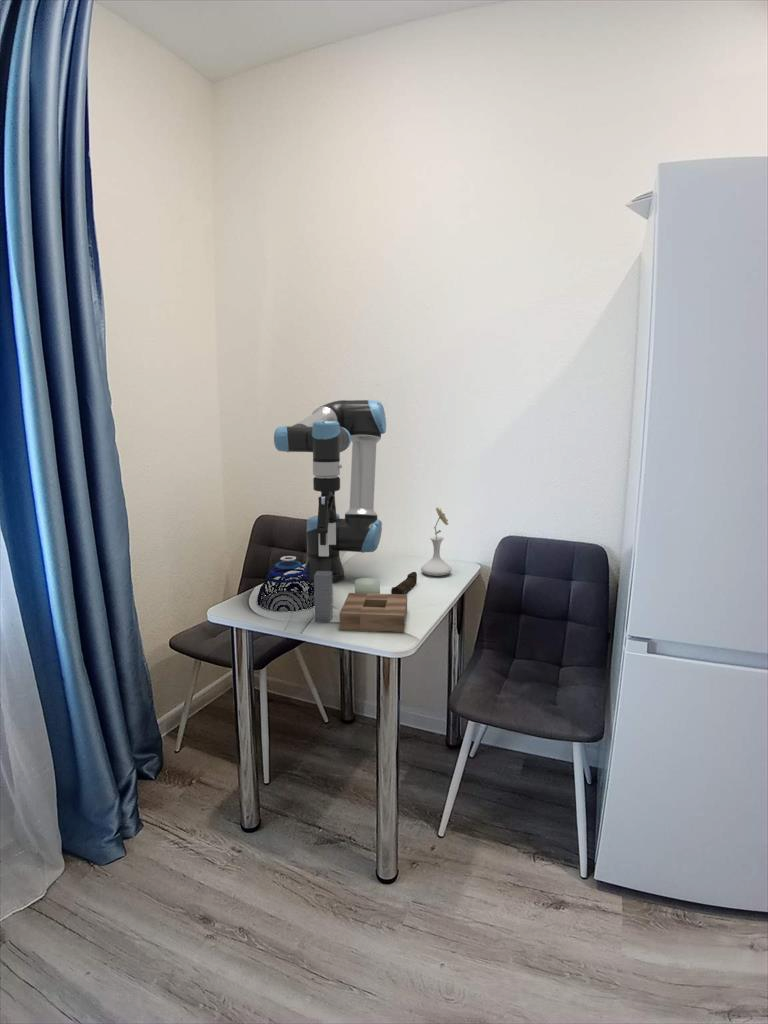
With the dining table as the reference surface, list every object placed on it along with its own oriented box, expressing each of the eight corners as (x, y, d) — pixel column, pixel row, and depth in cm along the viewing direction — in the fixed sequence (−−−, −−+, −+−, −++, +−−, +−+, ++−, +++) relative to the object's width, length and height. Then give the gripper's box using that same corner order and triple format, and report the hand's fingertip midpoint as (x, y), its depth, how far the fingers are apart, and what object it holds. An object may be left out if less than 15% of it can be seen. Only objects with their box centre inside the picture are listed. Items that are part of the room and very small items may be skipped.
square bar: (317, 616, 170) (317, 570, 168) (332, 616, 170) (332, 571, 167) (314, 621, 166) (313, 575, 163) (330, 622, 165) (329, 575, 163)
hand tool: (401, 599, 186) (402, 586, 185) (390, 597, 188) (390, 584, 187) (423, 584, 203) (423, 571, 202) (412, 582, 205) (413, 570, 204)
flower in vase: (450, 579, 208) (452, 511, 203) (419, 577, 210) (420, 510, 205) (452, 569, 220) (453, 505, 216) (422, 567, 222) (423, 504, 218)
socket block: (349, 608, 177) (349, 592, 176) (407, 610, 176) (407, 594, 175) (339, 630, 159) (339, 613, 159) (404, 632, 158) (404, 615, 157)
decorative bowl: (324, 591, 193) (324, 550, 191) (316, 612, 174) (315, 566, 171) (266, 591, 194) (264, 549, 191) (251, 611, 174) (249, 566, 172)
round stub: (356, 598, 187) (356, 577, 186) (381, 598, 186) (381, 578, 185) (353, 606, 179) (353, 584, 178) (378, 607, 178) (378, 585, 177)
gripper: (333, 482, 148) (334, 561, 152) (345, 471, 172) (346, 540, 176) (304, 481, 148) (306, 561, 152) (320, 471, 173) (322, 539, 177)
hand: (327, 550), depth 164 cm, fingers open, 13 cm apart
